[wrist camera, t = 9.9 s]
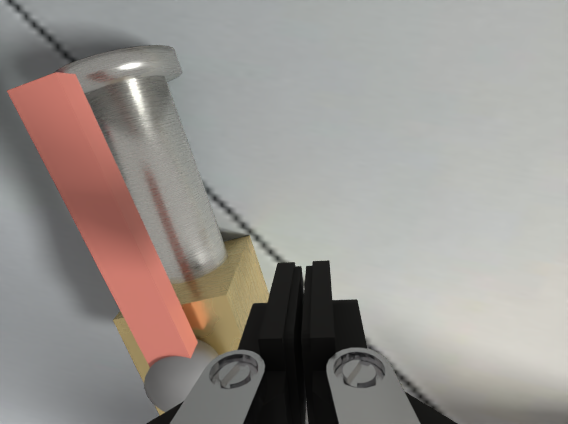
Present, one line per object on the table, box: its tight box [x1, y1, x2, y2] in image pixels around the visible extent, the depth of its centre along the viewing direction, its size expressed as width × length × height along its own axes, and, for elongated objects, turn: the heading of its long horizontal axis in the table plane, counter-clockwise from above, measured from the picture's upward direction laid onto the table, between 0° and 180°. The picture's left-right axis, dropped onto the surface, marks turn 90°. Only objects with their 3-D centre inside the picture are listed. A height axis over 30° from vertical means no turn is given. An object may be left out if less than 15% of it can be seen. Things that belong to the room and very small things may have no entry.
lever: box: [7, 72, 219, 412], centre depth 16 cm, size 17×4×2 cm, turn 17°
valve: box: [54, 45, 269, 415], centre depth 23 cm, size 30×6×8 cm, turn 16°
